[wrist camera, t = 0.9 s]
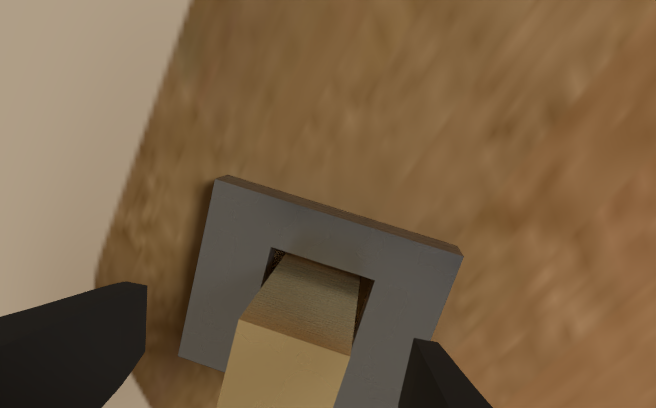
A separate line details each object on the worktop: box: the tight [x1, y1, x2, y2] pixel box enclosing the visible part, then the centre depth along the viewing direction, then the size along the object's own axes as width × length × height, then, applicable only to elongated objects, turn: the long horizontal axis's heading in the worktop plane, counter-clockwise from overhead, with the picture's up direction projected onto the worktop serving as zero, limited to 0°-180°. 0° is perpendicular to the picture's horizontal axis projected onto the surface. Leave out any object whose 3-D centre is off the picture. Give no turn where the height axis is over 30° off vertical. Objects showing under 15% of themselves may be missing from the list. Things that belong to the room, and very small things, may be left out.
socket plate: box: [178, 175, 464, 408], centre depth 19 cm, size 10×12×2 cm
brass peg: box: [217, 252, 361, 408], centre depth 17 cm, size 4×4×7 cm
